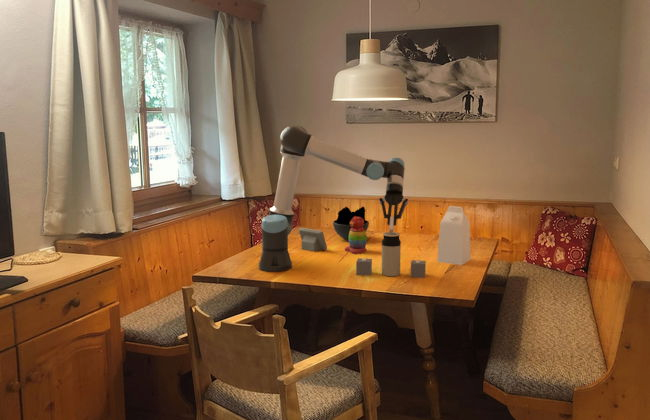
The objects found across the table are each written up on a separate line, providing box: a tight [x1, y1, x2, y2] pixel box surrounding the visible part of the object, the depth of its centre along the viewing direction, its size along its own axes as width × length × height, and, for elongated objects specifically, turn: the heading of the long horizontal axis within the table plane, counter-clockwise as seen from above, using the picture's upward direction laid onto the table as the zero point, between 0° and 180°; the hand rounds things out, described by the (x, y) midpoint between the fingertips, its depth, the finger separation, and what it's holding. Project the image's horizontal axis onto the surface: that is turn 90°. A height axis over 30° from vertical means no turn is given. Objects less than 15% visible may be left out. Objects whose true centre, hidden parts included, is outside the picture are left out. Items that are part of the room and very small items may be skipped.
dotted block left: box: [355, 257, 373, 277], centre depth 256 cm, size 6×6×6 cm
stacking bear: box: [344, 216, 368, 255], centre depth 298 cm, size 11×10×18 cm
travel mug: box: [381, 231, 402, 277], centre depth 253 cm, size 8×8×18 cm
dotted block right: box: [410, 259, 427, 279], centre depth 252 cm, size 6×6×6 cm
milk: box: [436, 205, 471, 266], centre depth 276 cm, size 12×12×26 cm
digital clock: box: [298, 227, 328, 252], centre depth 304 cm, size 16×9×11 cm, turn 38°
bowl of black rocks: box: [332, 206, 370, 241], centre depth 326 cm, size 20×20×19 cm
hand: (391, 230), depth 251 cm, fingers closed
